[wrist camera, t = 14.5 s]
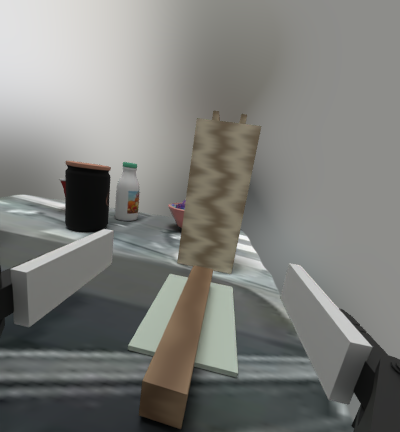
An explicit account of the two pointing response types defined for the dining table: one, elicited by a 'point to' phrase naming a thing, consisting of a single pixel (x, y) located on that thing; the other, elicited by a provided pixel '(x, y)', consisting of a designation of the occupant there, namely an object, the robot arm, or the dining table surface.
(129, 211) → the milk bottle
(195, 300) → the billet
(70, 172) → the coffee jar
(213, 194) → the wooden block tower
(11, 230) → the dining table surface
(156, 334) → the mat
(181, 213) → the cell model
